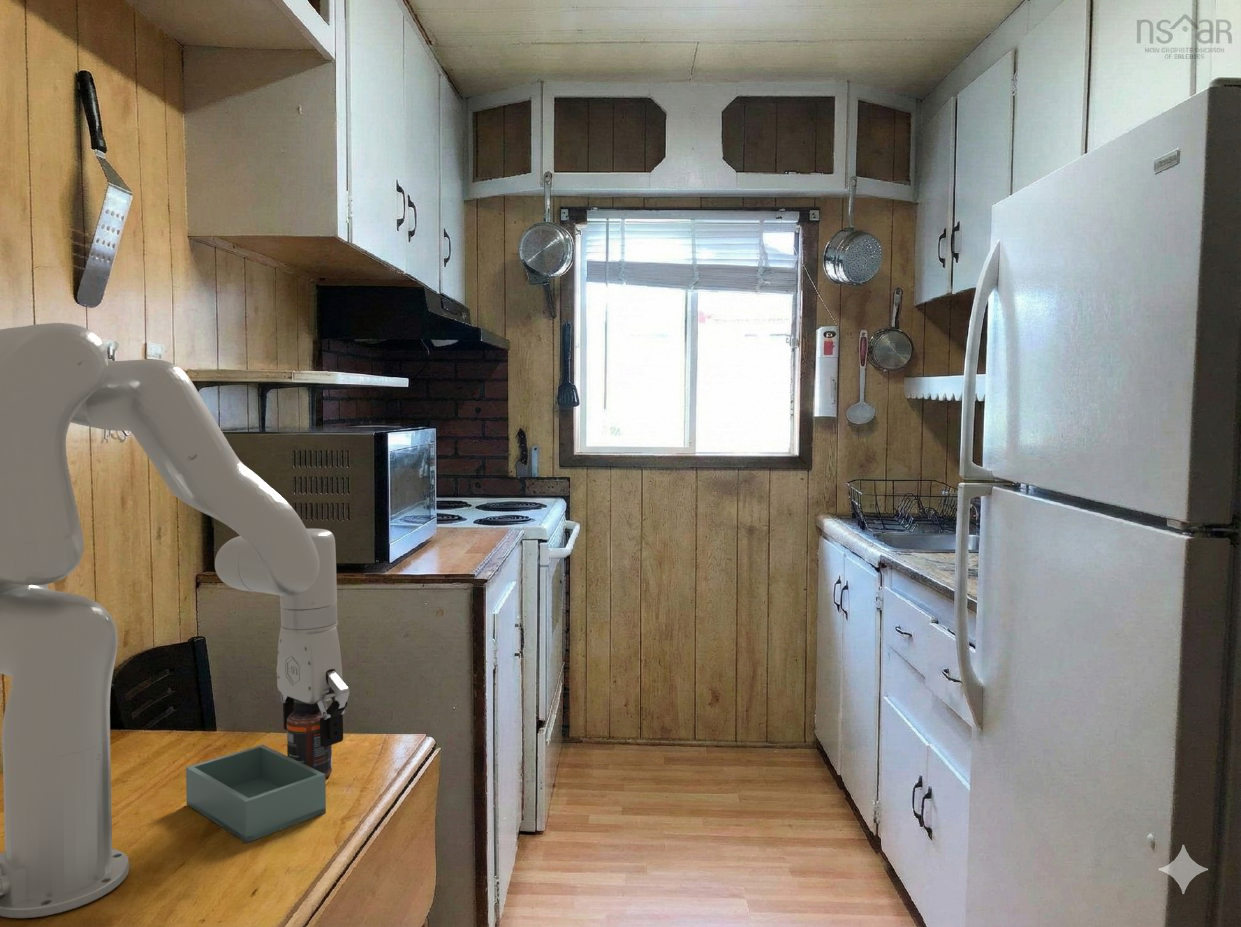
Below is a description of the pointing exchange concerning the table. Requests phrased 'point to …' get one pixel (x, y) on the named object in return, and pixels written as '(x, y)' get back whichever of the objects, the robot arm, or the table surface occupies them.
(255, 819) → the box
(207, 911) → the table surface
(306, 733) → the supplement bottle
